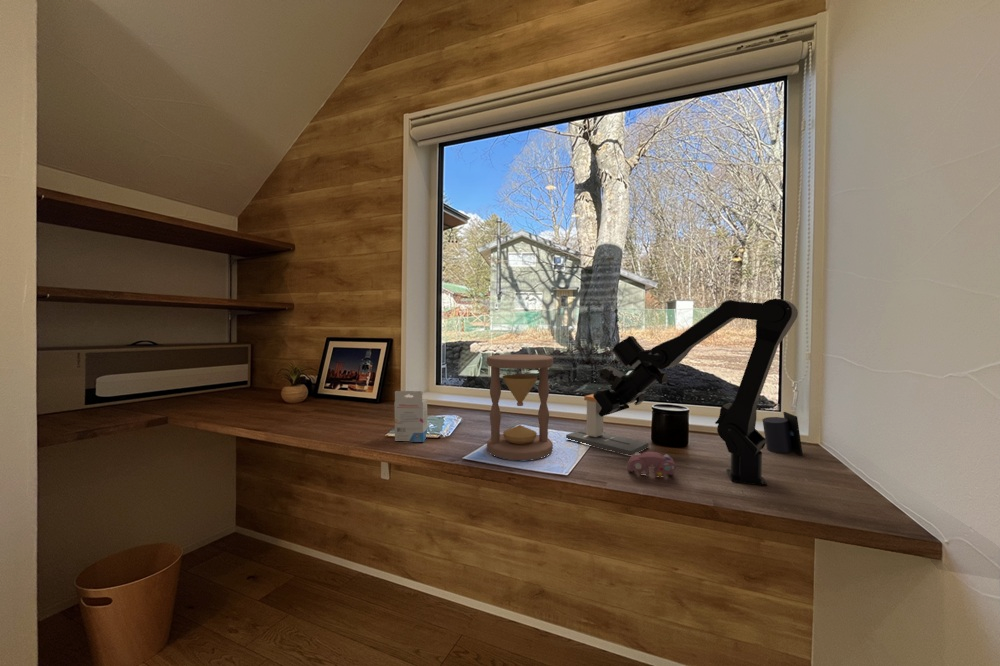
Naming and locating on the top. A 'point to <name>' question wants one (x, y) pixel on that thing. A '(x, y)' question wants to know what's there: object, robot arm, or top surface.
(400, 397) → the ink box
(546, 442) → the hourglass
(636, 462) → the video game controller
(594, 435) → the fader knob
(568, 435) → the grey grooved tray
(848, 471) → the top surface
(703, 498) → the top surface
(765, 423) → the speaker
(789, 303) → the robot arm
